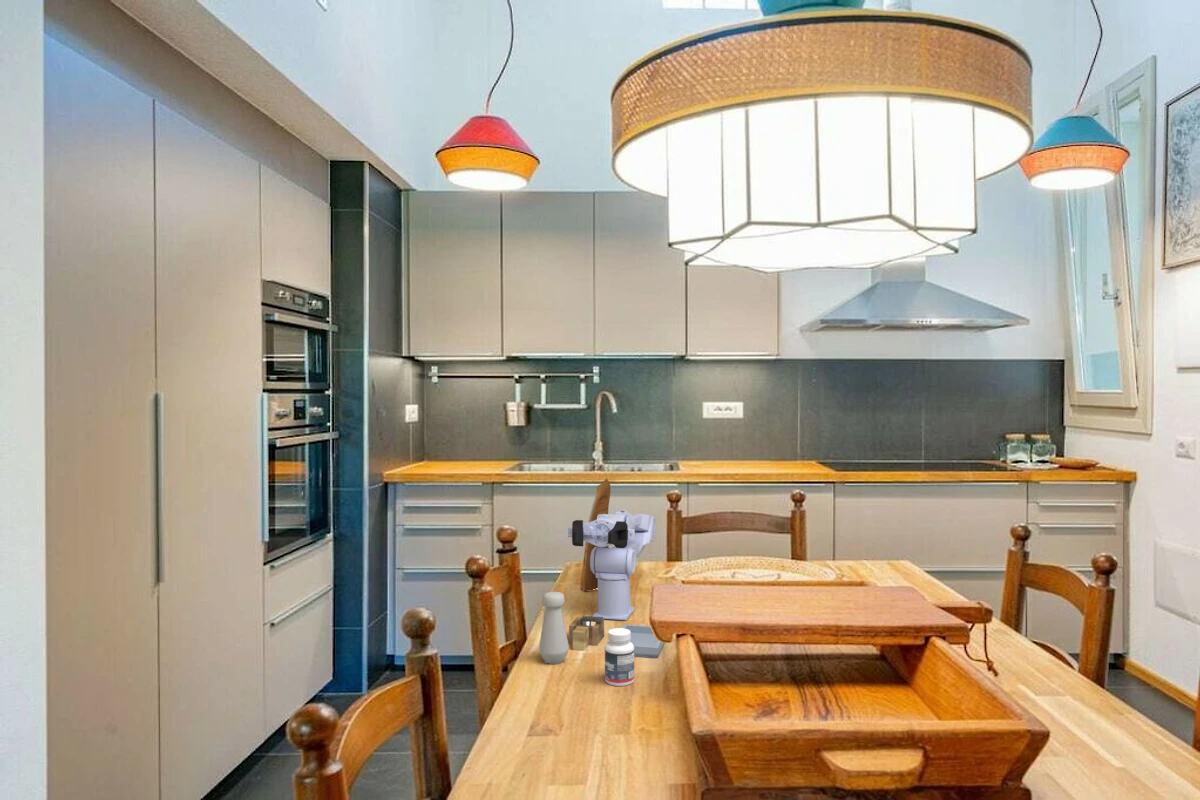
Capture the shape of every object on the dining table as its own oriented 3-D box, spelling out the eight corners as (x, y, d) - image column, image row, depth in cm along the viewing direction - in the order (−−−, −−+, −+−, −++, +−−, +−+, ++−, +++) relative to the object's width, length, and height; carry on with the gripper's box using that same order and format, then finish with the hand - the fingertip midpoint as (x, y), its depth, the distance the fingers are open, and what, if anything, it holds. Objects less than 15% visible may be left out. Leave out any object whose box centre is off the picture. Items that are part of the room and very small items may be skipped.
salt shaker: (571, 655, 141) (570, 589, 141) (567, 666, 136) (566, 597, 136) (541, 654, 142) (541, 588, 142) (536, 665, 136) (535, 596, 136)
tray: (624, 633, 154) (624, 624, 154) (668, 636, 152) (667, 627, 152) (610, 654, 142) (609, 644, 142) (657, 658, 140) (657, 648, 139)
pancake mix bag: (619, 577, 204) (618, 478, 204) (599, 594, 186) (598, 485, 186) (596, 575, 206) (595, 477, 206) (574, 592, 188) (573, 485, 188)
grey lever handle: (582, 637, 152) (582, 614, 152) (604, 638, 151) (604, 615, 151) (579, 641, 150) (579, 618, 150) (601, 642, 149) (600, 619, 149)
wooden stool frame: (577, 634, 154) (577, 617, 154) (604, 636, 153) (604, 619, 153) (564, 648, 145) (564, 631, 145) (593, 651, 144) (592, 633, 144)
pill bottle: (600, 677, 130) (600, 628, 130) (627, 673, 132) (627, 625, 132) (611, 688, 125) (610, 637, 125) (639, 684, 127) (638, 633, 127)
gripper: (576, 511, 165) (558, 516, 151) (638, 513, 161) (625, 519, 148) (575, 543, 164) (557, 550, 151) (638, 545, 160) (625, 553, 147)
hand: (591, 537), depth 149 cm, fingers open, 7 cm apart
